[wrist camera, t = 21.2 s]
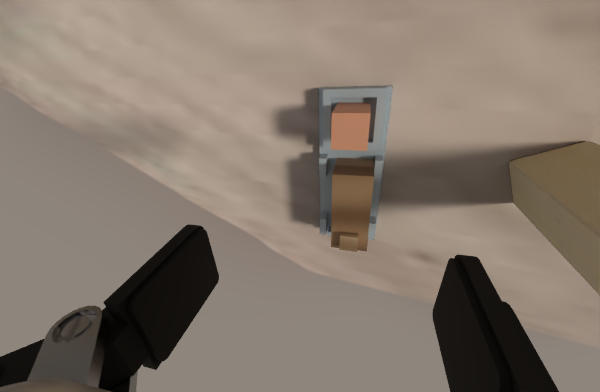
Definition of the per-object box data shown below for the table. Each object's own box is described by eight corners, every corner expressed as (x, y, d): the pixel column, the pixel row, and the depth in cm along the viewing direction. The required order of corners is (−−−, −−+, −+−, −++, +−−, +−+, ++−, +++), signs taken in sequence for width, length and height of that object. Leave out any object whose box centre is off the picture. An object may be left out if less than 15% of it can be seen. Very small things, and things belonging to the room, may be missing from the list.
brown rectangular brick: (338, 102, 32) (331, 112, 27) (370, 102, 32) (370, 113, 26) (337, 133, 34) (330, 149, 28) (367, 133, 34) (367, 150, 28)
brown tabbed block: (337, 157, 36) (331, 177, 30) (373, 158, 35) (374, 180, 29) (335, 223, 42) (330, 251, 36) (366, 226, 40) (366, 255, 35)
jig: (320, 87, 33) (316, 90, 31) (392, 85, 31) (394, 88, 28) (321, 226, 44) (318, 237, 41) (374, 232, 42) (375, 243, 39)
